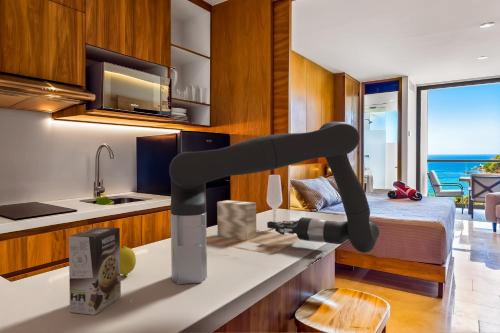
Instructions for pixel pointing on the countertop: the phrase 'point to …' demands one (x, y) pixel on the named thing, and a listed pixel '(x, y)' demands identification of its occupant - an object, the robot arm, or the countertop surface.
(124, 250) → the lemon
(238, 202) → the birch block
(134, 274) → the countertop surface
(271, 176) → the champagne flute
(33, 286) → the countertop surface
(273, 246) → the trap deck
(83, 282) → the grey snack box
